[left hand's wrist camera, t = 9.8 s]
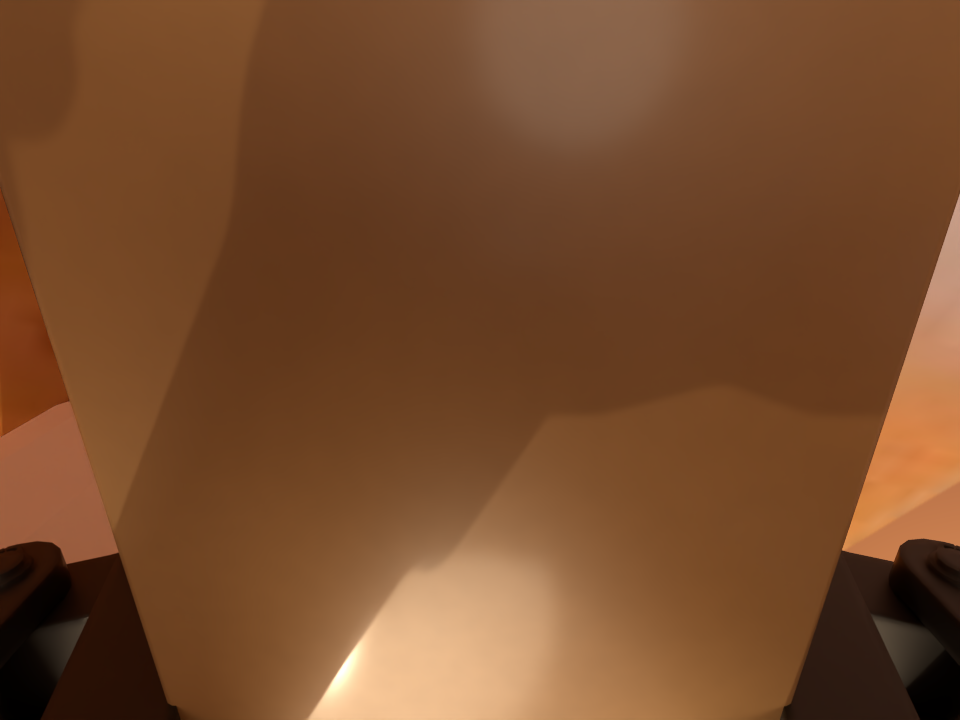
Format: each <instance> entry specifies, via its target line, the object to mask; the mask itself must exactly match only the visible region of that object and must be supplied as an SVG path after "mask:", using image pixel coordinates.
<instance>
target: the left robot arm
mask: <svg viewBox="0 0 960 720" xmlns="http://www.w3.org/2000/svg"><path fill="white" fill-rule="evenodd" d="M0 720H181V719H180V716H179V712H178V709H177V706H172V705H170V704H169V703H167V700H166V697H165V694H164V690H163V687H162V684H161V681H160V678H159V675H158V672H157V669H156V666H155V663H154V660H153V657H152V653H151V650H150V647H149V644H148V641H147V638H146V635H145V632H144V629H143V626H142V623H141V620H140V616H139V613H138V610H137V607H136V604H135V601H134V598H133V595H132V592H131V589H130V586H129V583H128V579H127V576H126V573H125V570H124V567H123V564H122V561H121V558H120V555H119V553H115V554H112V555H107V556H102V557H98V558H93V559H88V560H83V561H79V562H74V563H69V564H66V562H65V559H64V556H63V554H62V551H61V549H60V548H59V547H58V546H56V545H55V544H54V543H52V542H42V541H34V542H28V543H22V544H16V545H12V546H8V547H7V548H2V549H0ZM780 720H960V546H954V545H953V544H950V543H946V542H941V541H935V540H928V539H915V540H908V541H906V542H905V543H903V544H902V545H901V546H900V547H899V550H898V553H897V555H896V558H895V561H894V562H892V561H888V560H883V559H878V558H873V557H868V556H864V555H859V554H854V553H849V552H846V551H841V554H840V557H839V560H838V563H837V566H836V569H835V572H834V575H833V578H832V581H831V584H830V587H829V590H828V593H827V596H826V599H825V602H824V605H823V608H822V611H821V614H820V617H819V620H818V623H817V626H816V629H815V633H814V636H813V639H812V642H811V645H810V648H809V651H808V654H807V657H806V660H805V663H804V666H803V669H802V672H801V675H800V678H799V681H798V684H797V687H796V690H795V693H794V696H793V699H792V702H791V704H789V705H787V706H784V708H783V711H782V714H781V718H780Z"/></svg>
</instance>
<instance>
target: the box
mask: <svg viewBox="0 0 960 720" xmlns="http://www.w3.org/2000/svg"><path fill="white" fill-rule="evenodd" d="M0 188H1V191H2V194H3V197H4V200H5V203H6V206H7V210H8V213H9V216H10V219H11V222H12V225H13V228H14V231H15V234H16V237H17V240H18V243H19V247H20V250H21V253H22V256H23V259H24V262H25V265H26V268H27V271H28V274H29V277H30V280H31V284H32V287H33V290H34V293H35V296H36V299H37V302H38V305H39V308H40V311H41V314H42V317H43V321H44V324H45V327H46V330H47V333H48V336H49V339H50V342H51V345H52V348H53V351H54V354H55V358H56V361H57V364H58V367H59V370H60V373H61V376H62V379H63V382H64V385H65V388H66V391H67V395H68V398H69V401H70V404H71V407H72V410H73V413H74V416H75V419H76V422H77V425H78V428H79V431H80V435H81V438H82V441H83V444H84V447H85V450H86V453H87V456H88V459H89V462H90V465H91V468H92V472H93V475H94V478H95V481H96V484H97V487H98V490H99V493H100V496H101V499H102V502H103V505H104V509H105V512H106V515H107V518H108V521H109V524H110V527H111V530H112V533H113V536H114V539H115V542H116V546H117V549H118V552H119V555H120V558H121V561H122V564H123V567H124V570H125V573H126V576H127V579H128V583H129V586H130V589H131V592H132V595H133V598H134V601H135V604H136V607H137V610H138V613H139V616H140V620H141V623H142V626H143V629H144V632H145V635H146V638H147V641H148V644H149V647H150V650H151V653H152V657H153V660H154V663H155V666H156V669H157V672H158V675H159V678H160V681H161V684H162V687H163V690H164V694H165V697H166V700H167V703H169V704H170V705H172V706H177V709H178V712H179V716H180V719H181V720H780V718H781V714H782V711H783V708H784V706H787V705H789V704H791V702H792V699H793V696H794V693H795V690H796V687H797V684H798V681H799V678H800V675H801V672H802V669H803V666H804V663H805V660H806V657H807V654H808V651H809V648H810V645H811V642H812V639H813V636H814V633H815V629H816V626H817V623H818V620H819V617H820V614H821V611H822V608H823V605H824V602H825V599H826V596H827V593H828V590H829V587H830V584H831V581H832V578H833V575H834V572H835V569H836V566H837V563H838V560H839V557H840V554H841V551H842V548H843V545H844V542H845V539H846V536H847V533H848V530H849V527H850V524H851V521H852V518H853V515H854V512H855V509H856V506H857V502H858V499H859V496H860V493H861V490H862V487H863V484H864V481H865V478H866V475H867V472H868V469H869V466H870V463H871V460H872V457H873V454H874V451H875V448H876V445H877V442H878V439H879V436H880V433H881V430H882V427H883V424H884V421H885V418H886V415H887V412H888V409H889V406H890V403H891V400H892V397H893V394H894V391H895V388H896V385H897V382H898V379H899V375H900V372H901V369H902V366H903V363H904V360H905V357H906V354H907V351H908V348H909V345H910V342H911V339H912V336H913V333H914V330H915V327H916V324H917V321H918V318H919V315H920V312H921V309H922V306H923V303H924V300H925V297H926V294H927V291H928V288H929V285H930V282H931V279H932V276H933V273H934V270H935V267H936V264H937V261H938V258H939V255H940V252H941V248H942V245H943V242H944V239H945V236H946V233H947V230H948V227H949V224H950V221H951V218H952V215H953V212H954V209H955V206H956V203H957V200H958V197H959V194H960V0H0Z"/></svg>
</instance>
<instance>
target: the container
mask: <svg viewBox="0 0 960 720" xmlns="http://www.w3.org/2000/svg"><path fill="white" fill-rule="evenodd" d="M34 541H42V542H52V543H54V544H55V545H56V546H58V547H59V548H60V549H61V551H62V554H63V556H64V559H65V562H66V564H69V563H74V562H79V561H83V560H88V559H93V558H98V557H102V556H107V555H112V554H115V553H119V552H118V549H117V546H116V542H115V539H114V536H113V533H112V530H111V527H110V524H109V521H108V518H107V515H106V512H105V509H104V505H103V502H102V499H101V496H100V493H99V490H98V487H97V484H96V481H95V478H94V475H93V472H92V468H91V465H90V462H89V459H88V456H87V453H86V450H85V447H84V444H83V441H82V438H81V435H80V431H79V428H78V425H77V422H76V419H75V416H74V413H73V410H72V407H71V404H70V401H68V402H64V403H61V404H58V405H55V406H54V407H52V408H50V409H48V410H47V411H45V412H43V413H41V414H40V415H38V416H36V417H35V418H33V419H31V420H29V421H28V422H26V423H24V424H22V425H21V426H19V427H17V428H16V429H14V430H12V431H10V432H9V433H7V434H5V435H3V436H2V437H0V549H2V548H7V547H8V546H12V545H16V544H22V543H28V542H34Z"/></svg>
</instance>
